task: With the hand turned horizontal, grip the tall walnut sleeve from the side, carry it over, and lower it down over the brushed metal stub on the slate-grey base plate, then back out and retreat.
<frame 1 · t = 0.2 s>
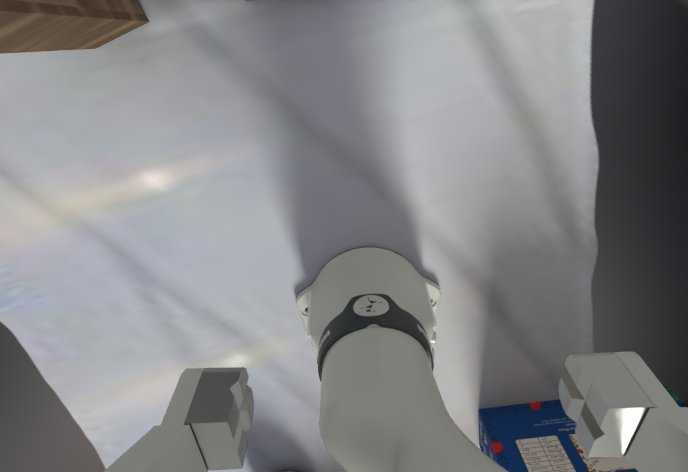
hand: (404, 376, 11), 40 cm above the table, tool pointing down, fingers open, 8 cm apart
walnut sleeve: (102, 1, 42), on the table
blue food box: (569, 416, 67), on the table
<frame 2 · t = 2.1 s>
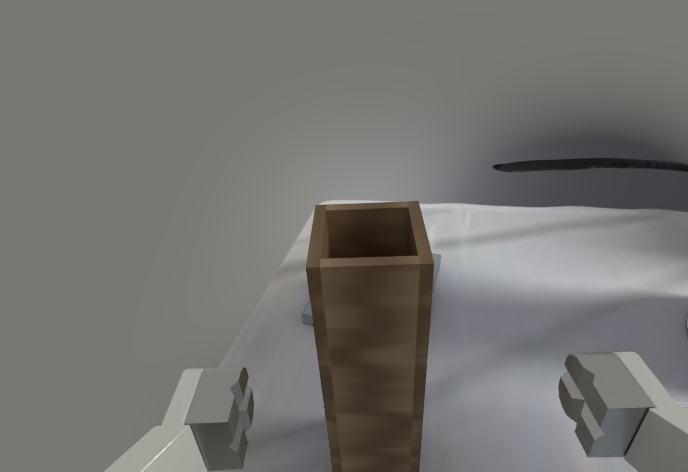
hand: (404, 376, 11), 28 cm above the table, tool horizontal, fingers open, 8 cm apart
walnut sleeve: (375, 463, 37), on the table
base plate: (376, 290, 56), on the table
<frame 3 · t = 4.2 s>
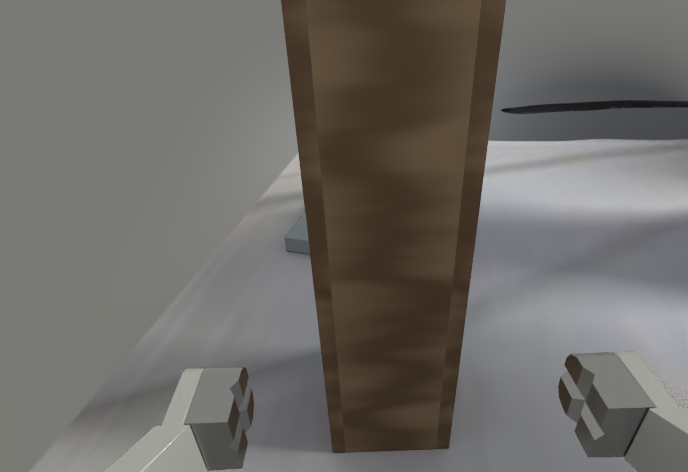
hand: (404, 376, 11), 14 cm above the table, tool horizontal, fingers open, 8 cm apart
walnut sleeve: (385, 401, 27), on the table
base plate: (377, 218, 46), on the table
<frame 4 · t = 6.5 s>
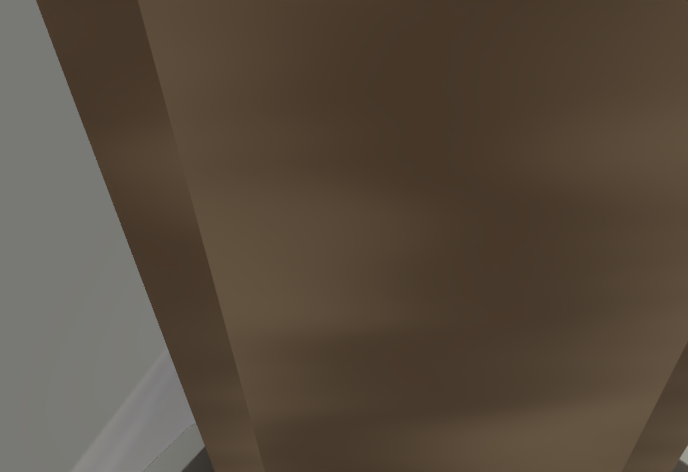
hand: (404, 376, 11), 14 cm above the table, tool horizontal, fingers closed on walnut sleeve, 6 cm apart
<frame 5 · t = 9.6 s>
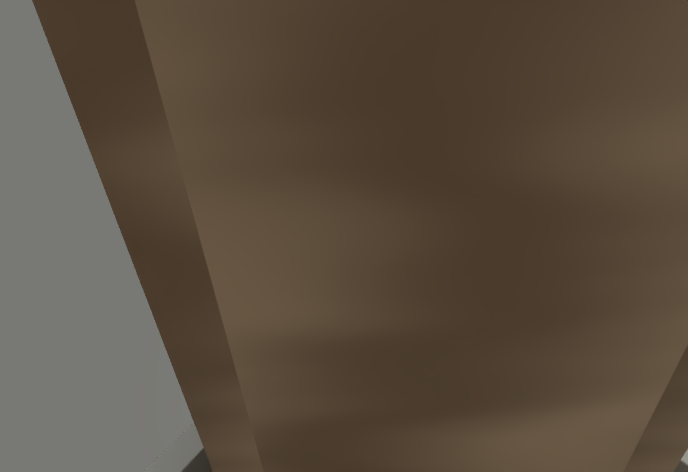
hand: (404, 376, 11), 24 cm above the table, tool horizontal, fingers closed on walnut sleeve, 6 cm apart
when the fingers open (17 cm above the table, at t = 12.9 s): walnut sleeve drops 1 cm, resting on base plate.
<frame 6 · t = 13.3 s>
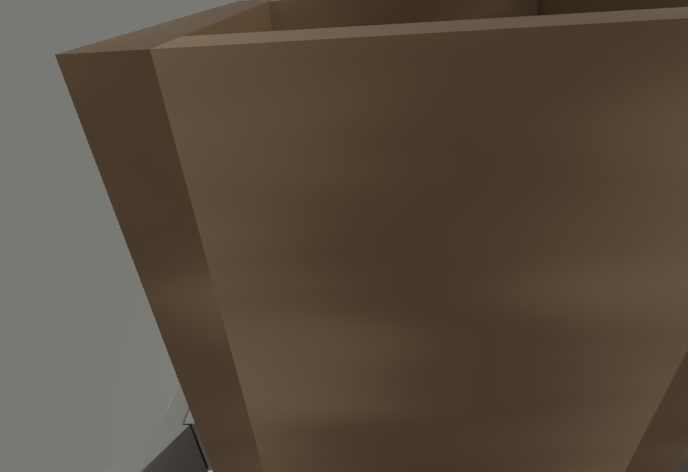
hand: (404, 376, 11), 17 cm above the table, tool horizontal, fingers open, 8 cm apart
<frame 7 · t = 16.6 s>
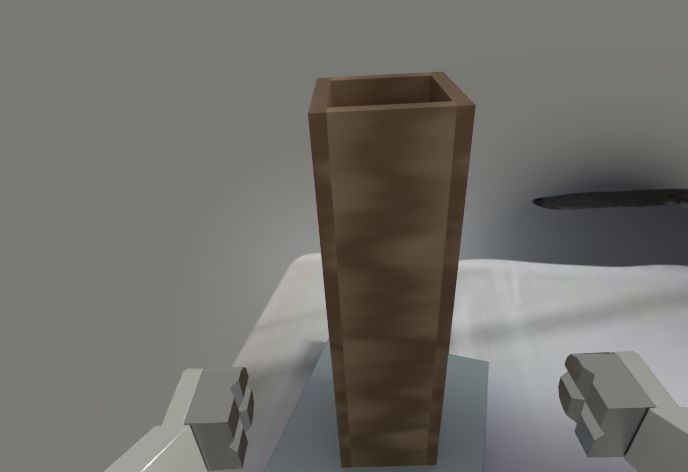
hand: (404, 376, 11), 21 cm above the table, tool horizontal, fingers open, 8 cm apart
walnut sleeve: (384, 423, 32), point 1 cm above the table, touching base plate
base plate: (385, 435, 33), on the table
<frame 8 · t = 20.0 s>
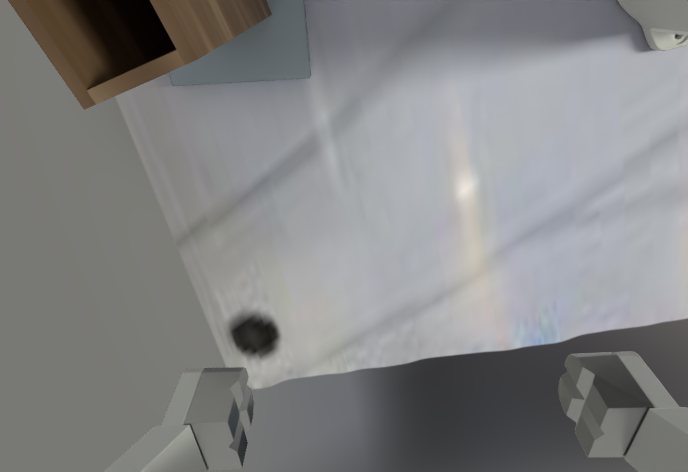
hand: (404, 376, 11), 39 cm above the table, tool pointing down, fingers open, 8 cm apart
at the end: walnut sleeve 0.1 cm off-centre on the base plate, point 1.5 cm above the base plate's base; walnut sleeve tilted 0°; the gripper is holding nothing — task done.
